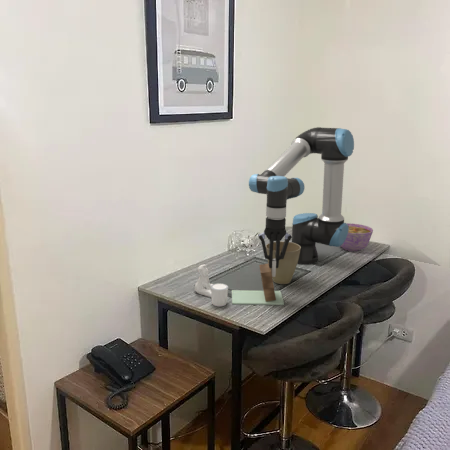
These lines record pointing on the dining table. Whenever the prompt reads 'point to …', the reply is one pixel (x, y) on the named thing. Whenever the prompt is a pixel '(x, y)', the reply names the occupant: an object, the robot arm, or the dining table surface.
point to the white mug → (219, 294)
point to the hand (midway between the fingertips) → (273, 275)
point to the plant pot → (285, 262)
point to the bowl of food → (357, 237)
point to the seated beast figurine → (203, 281)
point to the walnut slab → (267, 282)
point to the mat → (254, 298)
